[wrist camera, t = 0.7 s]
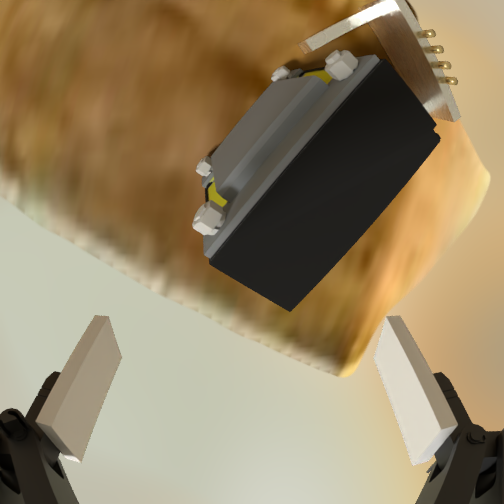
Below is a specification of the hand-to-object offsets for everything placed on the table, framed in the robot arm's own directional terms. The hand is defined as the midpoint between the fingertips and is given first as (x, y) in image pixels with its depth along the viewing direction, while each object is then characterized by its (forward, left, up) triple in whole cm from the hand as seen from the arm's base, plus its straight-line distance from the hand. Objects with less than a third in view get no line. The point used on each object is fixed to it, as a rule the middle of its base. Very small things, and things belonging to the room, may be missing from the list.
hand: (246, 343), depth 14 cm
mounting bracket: (0, +23, -27) cm, 36 cm away
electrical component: (0, +8, -28) cm, 29 cm away
